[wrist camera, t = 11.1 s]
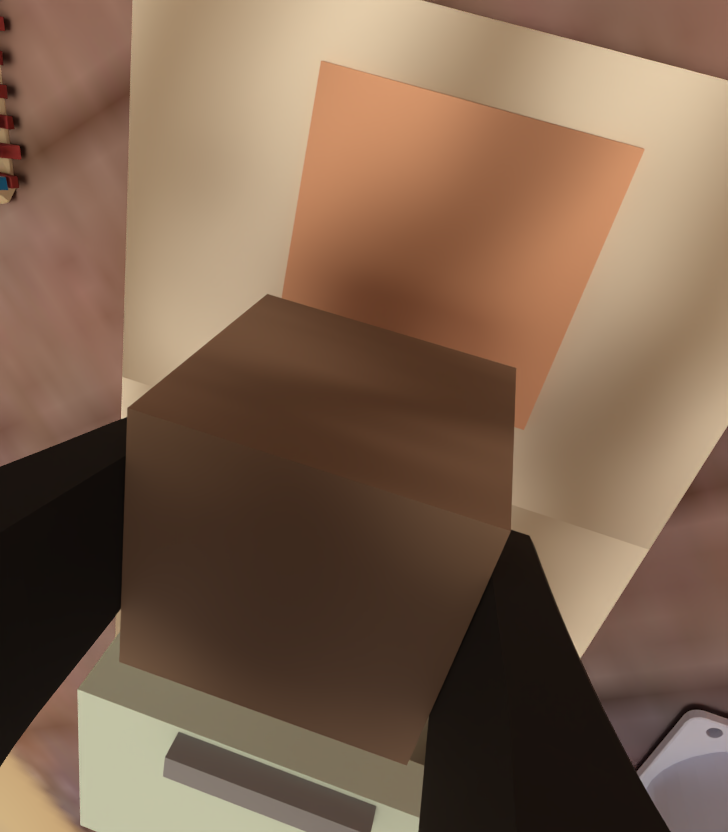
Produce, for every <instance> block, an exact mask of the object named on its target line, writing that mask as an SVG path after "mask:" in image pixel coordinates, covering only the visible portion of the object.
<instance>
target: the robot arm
mask: <svg viewBox="0 0 728 832" xmlns="http://www.w3.org/2000/svg"><path fill="white" fill-rule="evenodd" d="M126 435H127V417H126V418H123V419H120V420H118V421H115V422H113V423H110V424H108V425H105V426H102V427H100V428H97V429H95V430H92V431H90V432H88V433H85V434H83V435H80V436H78V437H75V438H73V439H70V440H68V441H65V442H63V443H60V444H57V445H55V446H52V447H50V448H47V449H45V450H42V451H40V452H37V453H34V454H32V455H29V456H27V457H24V458H22V459H19V460H16V461H14V462H11V463H9V464H6V465H4V466H1V467H0V766H1V765H2V763H3V762H4V760H5V759H6V757H7V756H8V754H9V753H10V751H11V750H12V748H13V747H14V745H15V744H16V742H17V741H18V740H19V738H20V737H21V736H22V734H23V733H24V732H25V730H26V729H27V728H28V726H29V725H30V723H31V722H32V721H33V719H34V718H35V717H36V715H37V714H38V713H39V711H40V710H41V709H42V708H43V706H44V705H45V704H46V703H47V701H48V700H49V699H50V698H51V696H52V695H53V694H54V693H55V691H56V690H57V689H58V688H59V686H60V685H61V684H62V682H63V681H64V680H65V679H66V677H67V676H68V675H69V674H70V672H71V671H72V670H73V669H74V667H75V666H76V665H77V664H78V662H79V661H80V660H81V659H82V657H83V656H84V655H85V654H86V652H87V651H88V650H89V649H90V647H91V646H92V645H93V644H94V642H95V641H96V640H97V639H98V637H99V636H100V635H101V634H102V632H103V631H104V630H105V628H106V627H107V626H108V625H109V623H110V622H111V621H112V620H113V618H114V617H115V616H116V614H117V613H118V612H119V611H120V609H121V591H122V560H123V529H124V498H125V466H126ZM418 832H728V719H727V718H724V717H721V716H718V715H715V714H712V713H709V712H707V711H703V710H691V711H688V712H687V713H685V714H684V715H683V716H682V718H681V719H680V720H679V721H678V722H677V724H676V725H675V726H674V727H673V728H672V730H671V731H670V732H669V733H668V735H667V736H666V737H665V738H664V739H663V741H662V742H661V743H660V744H659V745H658V747H657V748H656V749H655V750H654V751H653V753H652V754H651V755H650V756H649V757H648V759H647V760H646V761H645V762H644V764H643V765H642V766H641V767H640V768H639V770H638V771H637V772H636V770H635V769H634V767H633V765H632V763H631V761H630V759H629V757H628V756H627V754H626V752H625V750H624V748H623V746H622V744H621V742H620V740H619V738H618V736H617V734H616V732H615V730H614V728H613V726H612V725H611V723H610V721H609V719H608V717H607V715H606V713H605V711H604V709H603V707H602V705H601V702H600V700H599V698H598V696H597V694H596V692H595V690H594V688H593V686H592V684H591V682H590V679H589V677H588V675H587V673H586V670H585V668H584V666H583V664H582V662H581V659H580V657H579V655H578V653H577V650H576V648H575V646H574V644H573V642H572V639H571V637H570V635H569V632H568V630H567V628H566V625H565V623H564V621H563V618H562V616H561V613H560V611H559V608H558V606H557V603H556V601H555V598H554V596H553V593H552V591H551V588H550V586H549V583H548V581H547V578H546V575H545V573H544V570H543V567H542V565H541V562H540V559H539V557H538V554H537V551H536V548H535V546H534V543H533V541H532V540H531V538H530V536H529V535H526V534H523V533H520V532H517V531H514V530H511V532H510V534H509V536H508V539H507V541H506V543H505V545H504V548H503V550H502V552H501V554H500V557H499V559H498V561H497V564H496V566H495V568H494V570H493V573H492V575H491V577H490V579H489V582H488V584H487V586H486V588H485V591H484V593H483V595H482V597H481V600H480V602H479V604H478V606H477V609H476V611H475V613H474V615H473V618H472V620H471V622H470V624H469V627H468V629H467V631H466V633H465V636H464V638H463V640H462V642H461V645H460V647H459V649H458V651H457V654H456V656H455V658H454V660H453V663H452V665H451V667H450V669H449V672H448V674H447V676H446V678H445V681H444V683H443V685H442V687H441V690H440V692H439V694H438V696H437V699H436V701H435V703H434V705H433V708H432V710H431V712H430V714H429V720H428V731H427V741H426V752H425V763H424V775H423V786H422V797H421V808H420V819H419V830H418Z"/></svg>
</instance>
